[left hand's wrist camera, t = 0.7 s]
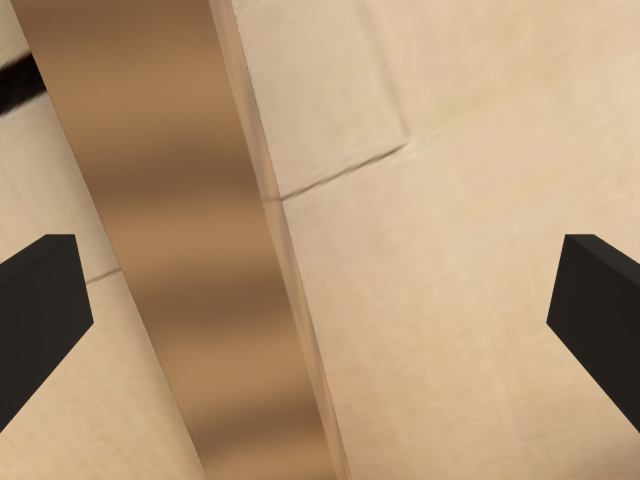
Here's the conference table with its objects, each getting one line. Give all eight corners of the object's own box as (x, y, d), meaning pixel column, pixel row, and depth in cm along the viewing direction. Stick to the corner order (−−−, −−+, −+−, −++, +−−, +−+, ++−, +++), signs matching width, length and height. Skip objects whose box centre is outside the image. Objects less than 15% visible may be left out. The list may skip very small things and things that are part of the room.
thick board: (39, -100, 26) (-53, -151, 20) (195, -141, 26) (152, -208, 19) (299, 612, 51) (296, 693, 45) (382, 601, 50) (392, 682, 44)
